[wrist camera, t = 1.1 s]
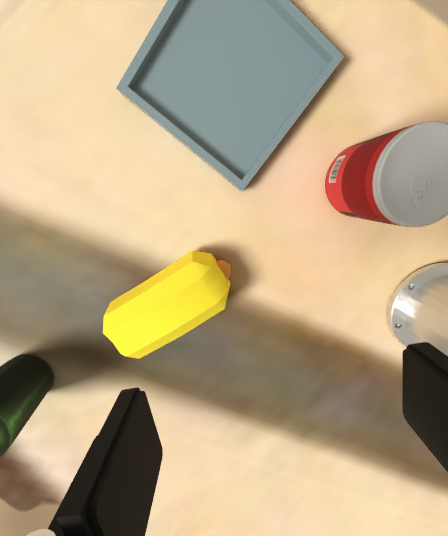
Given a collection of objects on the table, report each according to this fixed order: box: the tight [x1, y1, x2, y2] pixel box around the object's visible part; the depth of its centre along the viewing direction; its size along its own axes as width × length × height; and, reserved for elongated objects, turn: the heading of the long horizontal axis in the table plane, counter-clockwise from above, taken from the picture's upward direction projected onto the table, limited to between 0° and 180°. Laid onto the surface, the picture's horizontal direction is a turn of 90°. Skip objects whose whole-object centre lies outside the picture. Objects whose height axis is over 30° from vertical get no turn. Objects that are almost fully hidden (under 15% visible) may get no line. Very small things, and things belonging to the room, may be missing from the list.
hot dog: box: [103, 251, 231, 359], centre depth 32 cm, size 18×7×8 cm
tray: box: [117, 0, 344, 191], centre depth 27 cm, size 16×16×2 cm
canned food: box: [325, 121, 448, 227], centre depth 26 cm, size 8×8×11 cm
